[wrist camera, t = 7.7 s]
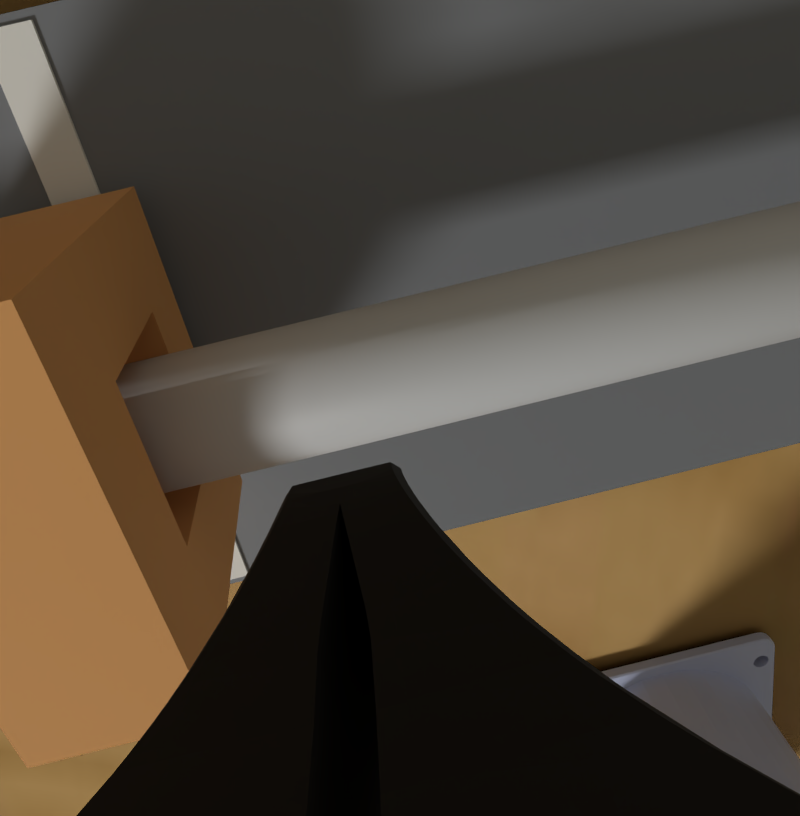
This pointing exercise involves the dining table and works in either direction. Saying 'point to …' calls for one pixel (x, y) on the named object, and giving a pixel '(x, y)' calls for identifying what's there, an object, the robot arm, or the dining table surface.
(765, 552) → the dining table surface
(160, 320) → the collar
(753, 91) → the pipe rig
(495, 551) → the dining table surface
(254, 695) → the robot arm
